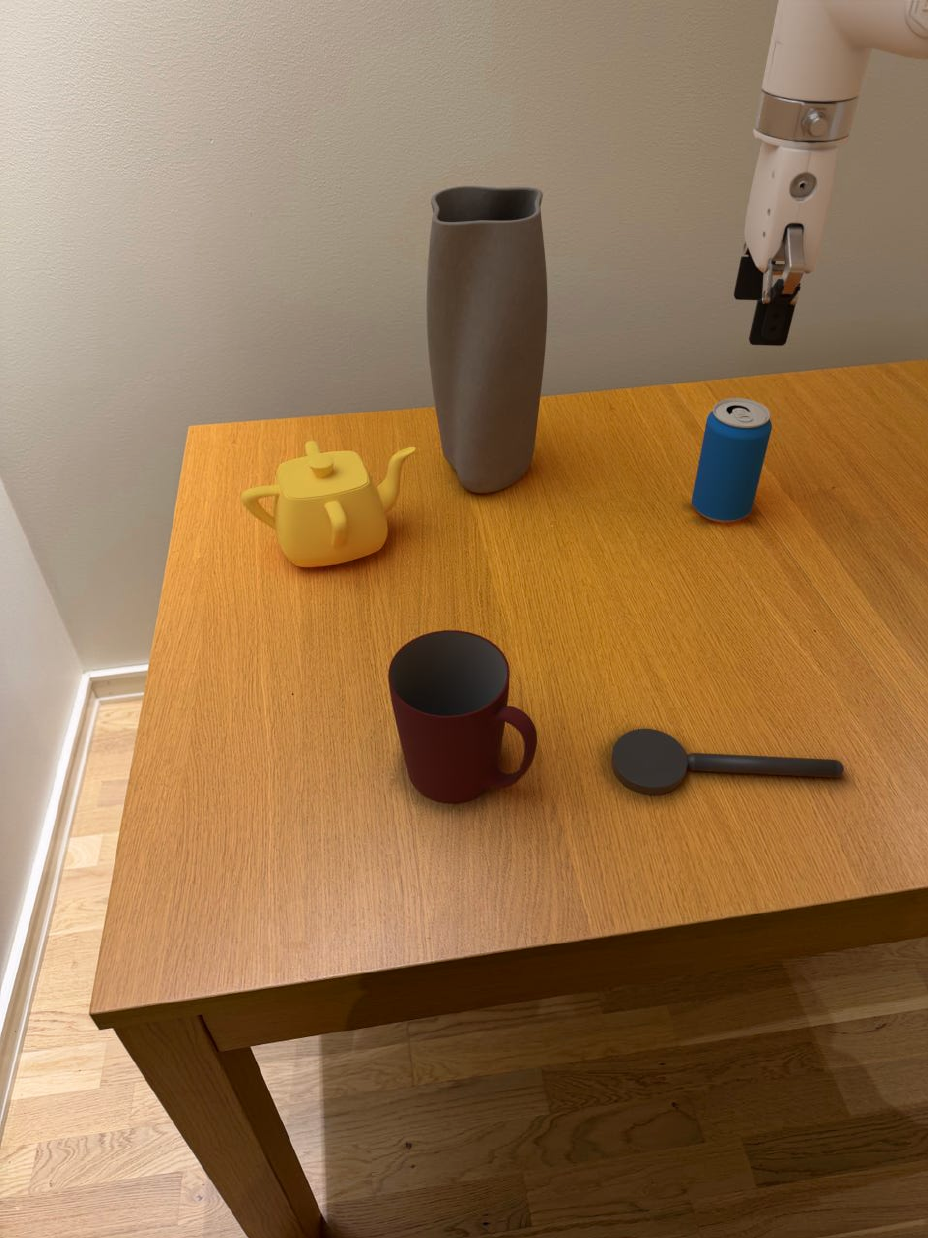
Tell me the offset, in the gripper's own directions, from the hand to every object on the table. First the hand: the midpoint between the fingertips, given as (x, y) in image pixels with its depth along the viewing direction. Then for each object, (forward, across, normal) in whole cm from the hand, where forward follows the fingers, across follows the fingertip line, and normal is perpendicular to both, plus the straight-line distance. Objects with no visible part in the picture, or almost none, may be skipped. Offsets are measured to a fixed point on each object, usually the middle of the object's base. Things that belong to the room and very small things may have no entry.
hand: (757, 320), depth 83 cm
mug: (+22, -38, +24) cm, 50 cm away
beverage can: (+22, 0, 0) cm, 22 cm away
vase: (+22, +6, +26) cm, 34 cm away
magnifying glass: (+21, -36, +4) cm, 42 cm away
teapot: (+22, -9, +40) cm, 47 cm away
